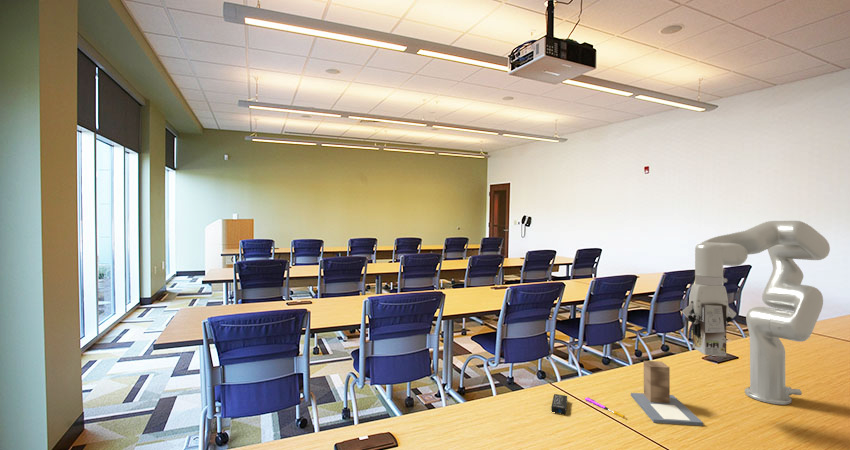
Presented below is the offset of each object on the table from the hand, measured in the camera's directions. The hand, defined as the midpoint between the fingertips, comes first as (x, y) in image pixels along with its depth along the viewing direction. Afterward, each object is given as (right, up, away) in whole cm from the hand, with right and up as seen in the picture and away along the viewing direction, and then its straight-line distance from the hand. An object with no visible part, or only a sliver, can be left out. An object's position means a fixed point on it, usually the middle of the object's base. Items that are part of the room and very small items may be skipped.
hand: (708, 335), depth 132 cm
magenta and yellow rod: (-32, -26, +3) cm, 41 cm away
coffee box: (0, -5, 0) cm, 5 cm away
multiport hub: (-47, -26, +4) cm, 54 cm away
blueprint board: (-14, -25, +2) cm, 28 cm away
